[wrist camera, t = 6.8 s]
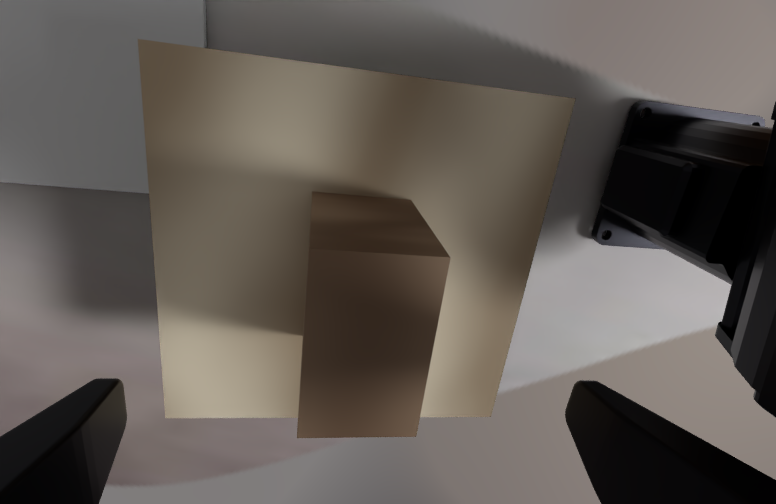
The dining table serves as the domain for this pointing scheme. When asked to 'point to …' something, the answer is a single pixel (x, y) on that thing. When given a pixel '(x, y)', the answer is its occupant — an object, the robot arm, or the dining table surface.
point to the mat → (82, 87)
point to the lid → (338, 237)
